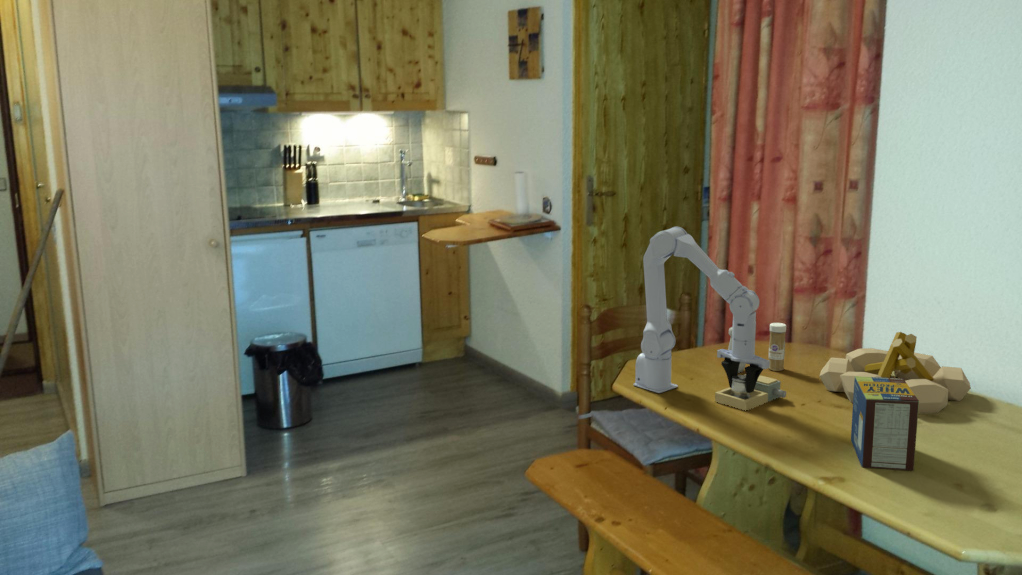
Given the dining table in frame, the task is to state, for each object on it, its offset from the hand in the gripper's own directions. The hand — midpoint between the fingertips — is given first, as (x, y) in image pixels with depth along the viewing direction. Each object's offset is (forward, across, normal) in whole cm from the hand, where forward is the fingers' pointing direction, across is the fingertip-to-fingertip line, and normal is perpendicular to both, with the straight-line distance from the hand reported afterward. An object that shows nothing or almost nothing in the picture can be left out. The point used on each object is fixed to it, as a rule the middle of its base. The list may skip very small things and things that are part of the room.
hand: (741, 389), depth 220 cm
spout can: (+2, 0, 0) cm, 2 cm away
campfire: (+4, +22, +35) cm, 42 cm away
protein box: (+4, +40, -6) cm, 41 cm away
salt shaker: (+4, -16, +20) cm, 27 cm away
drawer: (+3, +1, +3) cm, 5 cm away
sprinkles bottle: (+4, -10, +30) cm, 32 cm away
